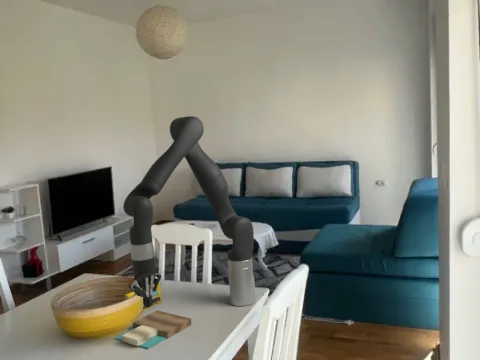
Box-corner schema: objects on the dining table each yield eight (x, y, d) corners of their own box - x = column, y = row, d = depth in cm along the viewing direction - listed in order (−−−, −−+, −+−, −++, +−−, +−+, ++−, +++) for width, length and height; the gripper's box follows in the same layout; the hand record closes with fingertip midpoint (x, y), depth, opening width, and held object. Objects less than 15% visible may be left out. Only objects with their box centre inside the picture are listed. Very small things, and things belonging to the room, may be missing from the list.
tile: (142, 330, 162) (142, 324, 162) (157, 334, 158) (157, 328, 158) (122, 341, 155) (121, 335, 154) (137, 346, 151) (137, 340, 150)
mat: (133, 329, 164) (133, 328, 164) (165, 338, 156) (165, 337, 156) (115, 339, 158) (115, 337, 158) (148, 349, 149) (148, 347, 149)
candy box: (129, 317, 175) (128, 295, 174) (126, 316, 177) (124, 294, 176) (162, 302, 188) (160, 282, 187) (158, 301, 189) (156, 281, 188)
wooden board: (157, 316, 175) (157, 310, 174) (191, 324, 166) (190, 318, 165) (133, 329, 165) (132, 322, 165) (167, 338, 156) (167, 332, 156)
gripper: (136, 263, 149) (142, 316, 152) (165, 251, 160) (170, 301, 163) (119, 260, 154) (125, 312, 156) (149, 249, 164) (154, 297, 167)
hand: (148, 306), depth 159 cm, fingers closed
